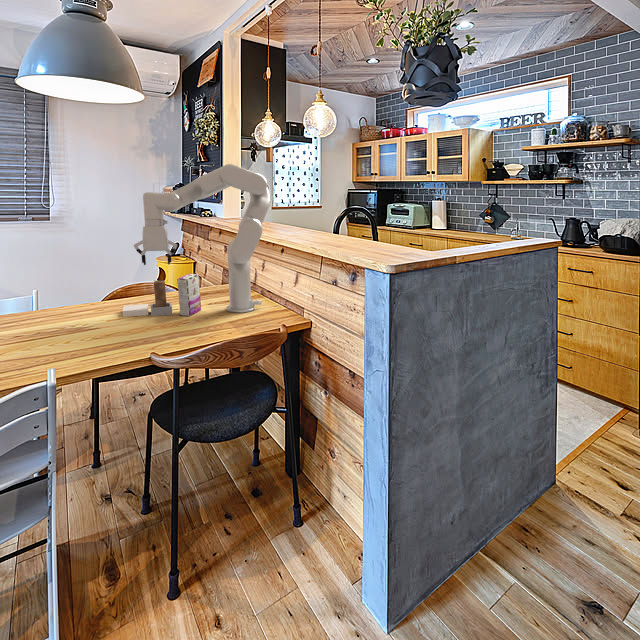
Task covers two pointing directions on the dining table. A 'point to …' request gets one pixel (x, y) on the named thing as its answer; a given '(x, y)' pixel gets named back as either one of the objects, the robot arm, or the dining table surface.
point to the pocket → (161, 310)
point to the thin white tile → (135, 310)
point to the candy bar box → (189, 294)
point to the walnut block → (160, 293)
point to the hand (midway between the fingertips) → (157, 264)
